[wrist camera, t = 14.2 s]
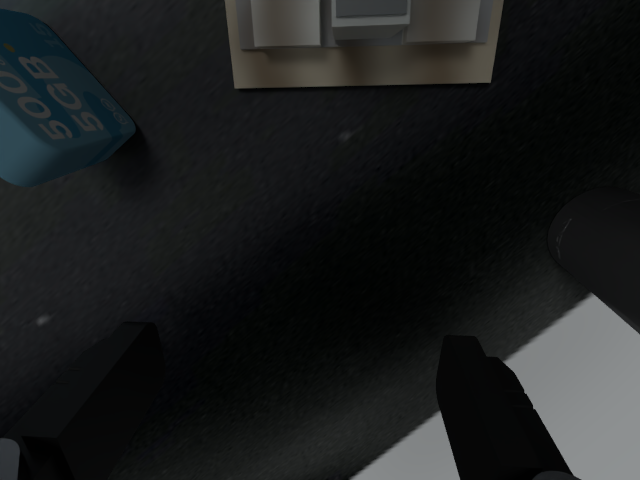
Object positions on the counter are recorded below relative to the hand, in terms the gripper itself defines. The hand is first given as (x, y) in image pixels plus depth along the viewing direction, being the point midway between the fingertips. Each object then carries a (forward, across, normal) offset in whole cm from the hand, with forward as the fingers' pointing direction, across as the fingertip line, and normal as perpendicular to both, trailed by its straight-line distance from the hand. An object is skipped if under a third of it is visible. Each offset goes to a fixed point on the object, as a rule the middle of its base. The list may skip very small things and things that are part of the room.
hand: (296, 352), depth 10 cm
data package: (+27, +24, -6) cm, 36 cm away
